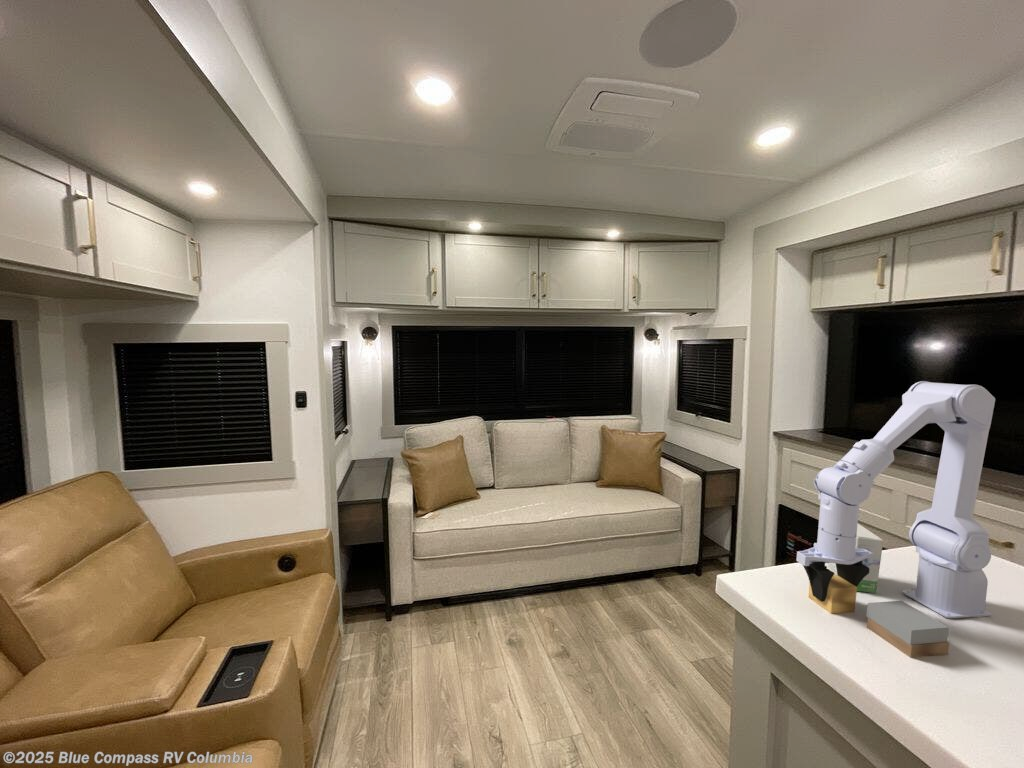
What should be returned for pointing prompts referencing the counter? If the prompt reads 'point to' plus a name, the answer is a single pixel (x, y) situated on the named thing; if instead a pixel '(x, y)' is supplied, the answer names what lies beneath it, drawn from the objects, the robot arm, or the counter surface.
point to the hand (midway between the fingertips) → (831, 597)
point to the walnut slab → (906, 648)
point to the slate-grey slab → (907, 622)
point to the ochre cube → (837, 596)
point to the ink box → (874, 546)
